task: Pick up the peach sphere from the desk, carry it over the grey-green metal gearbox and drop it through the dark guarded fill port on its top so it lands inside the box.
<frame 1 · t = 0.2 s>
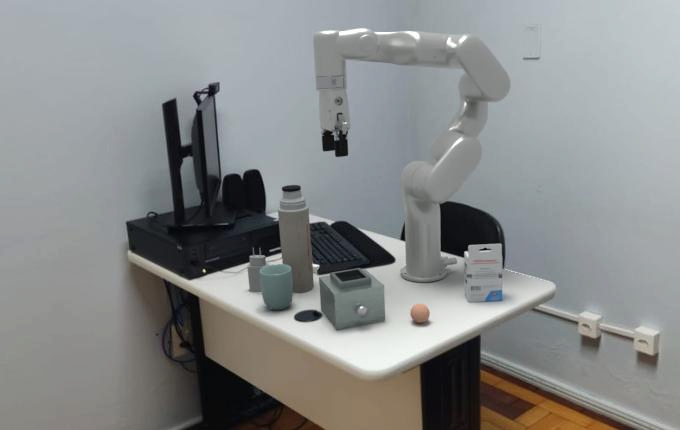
hand: (335, 153, 154), 36 cm above the table, tool pointing down, fingers open, 9 cm apart
ink box: (482, 298, 154), on the table
cup: (278, 307, 155), on the table
thermos bottle: (299, 288, 167), on the table
cable organizer: (301, 272, 179), on the table
peach sphere: (420, 321, 142), on the table
gearbox: (352, 315, 148), on the table
power adapter: (260, 290, 167), on the table
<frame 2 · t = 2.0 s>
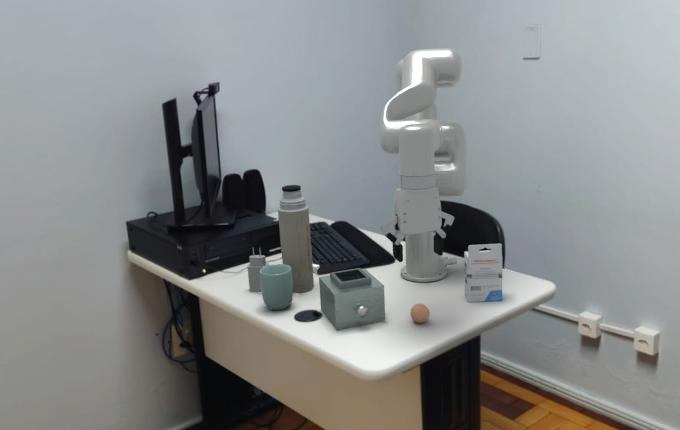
hand: (418, 257, 138), 16 cm above the table, tool pointing down, fingers open, 9 cm apart
nothing on the table moved.
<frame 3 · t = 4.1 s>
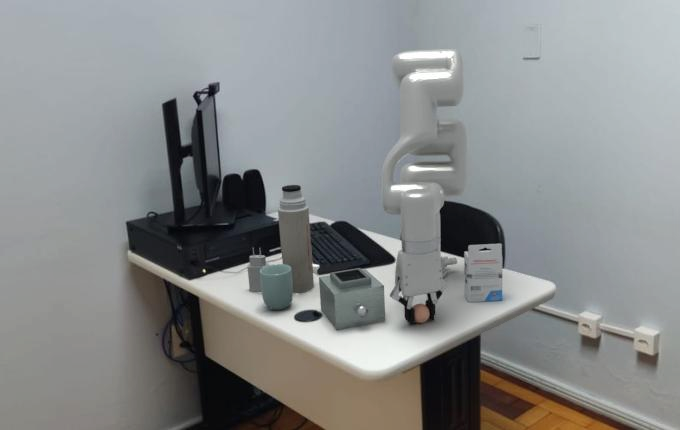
hand: (420, 319, 142), 1 cm above the table, tool pointing down, fingers closed on peach sphere, 4 cm apart
peach sphere: (420, 322, 142), on the table, touching gripper
everything else where it was.
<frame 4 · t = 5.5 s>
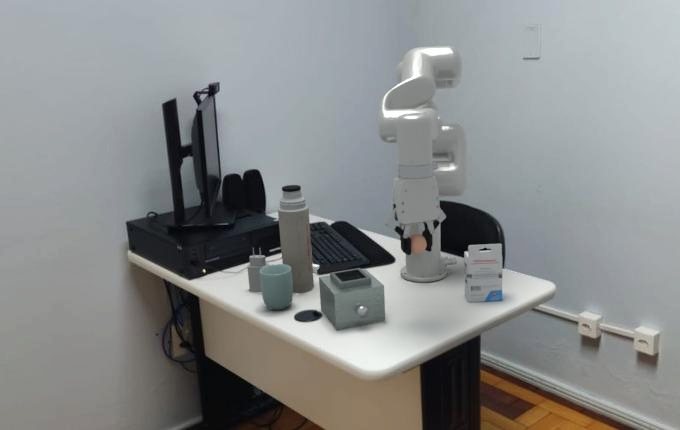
hand: (416, 250, 138), 17 cm above the table, tool pointing down, fingers closed on peach sphere, 4 cm apart
peach sphere: (417, 253, 138), point 17 cm above the table, touching gripper
everything else where it was.
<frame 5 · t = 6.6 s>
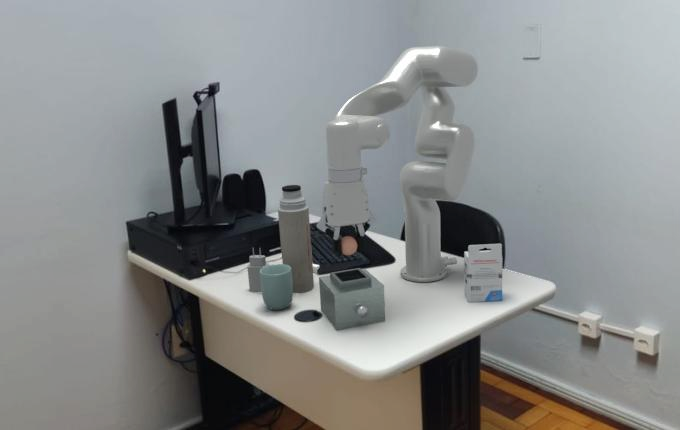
hand: (348, 252, 143), 16 cm above the table, tool pointing down, fingers closed on peach sphere, 4 cm apart
peach sphere: (348, 254, 143), point 15 cm above the table, touching gripper
everything else where it was.
when the fingers open (11 cm above the table, at t = 7.4 s): peach sphere drops 9 cm, resting on gearbox.
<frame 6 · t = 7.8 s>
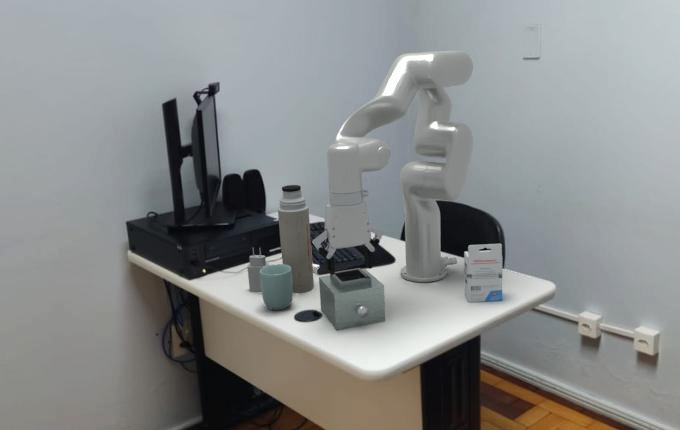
hand: (350, 269, 145), 12 cm above the table, tool pointing down, fingers open, 8 cm apart
peach sphere: (352, 312, 148), point 1 cm above the table, touching gearbox
everything else where it was.
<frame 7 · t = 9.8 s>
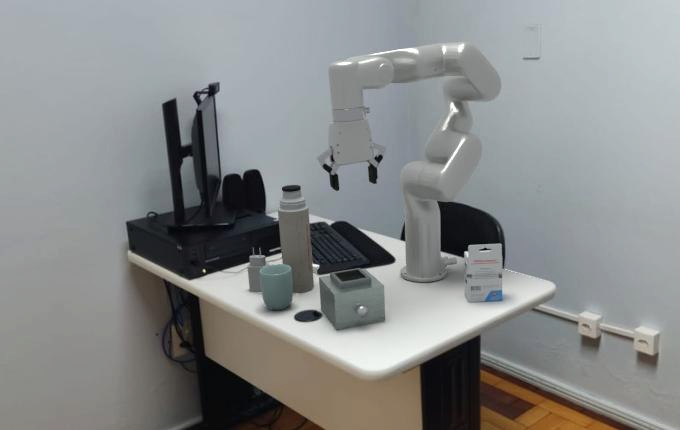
hand: (354, 186, 149), 29 cm above the table, tool pointing down, fingers open, 9 cm apart
nothing on the table moved.
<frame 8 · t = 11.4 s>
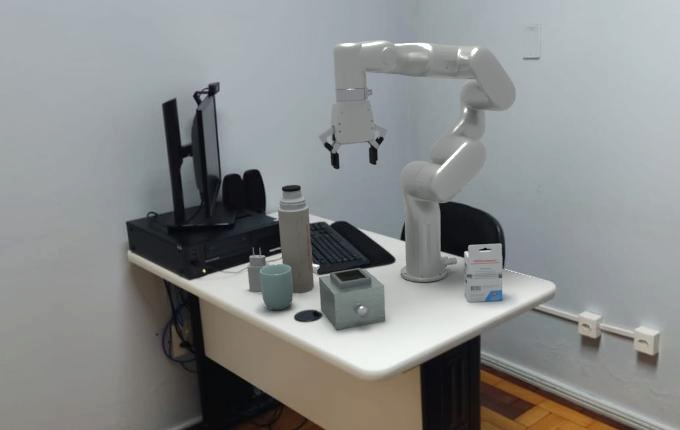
hand: (354, 166, 153), 33 cm above the table, tool pointing down, fingers open, 9 cm apart
nothing on the table moved.
at the end: peach sphere inside the target area on the gearbox (0.1 cm from its centre), point 0.8 cm above the gearbox's base; the gripper is holding nothing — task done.
